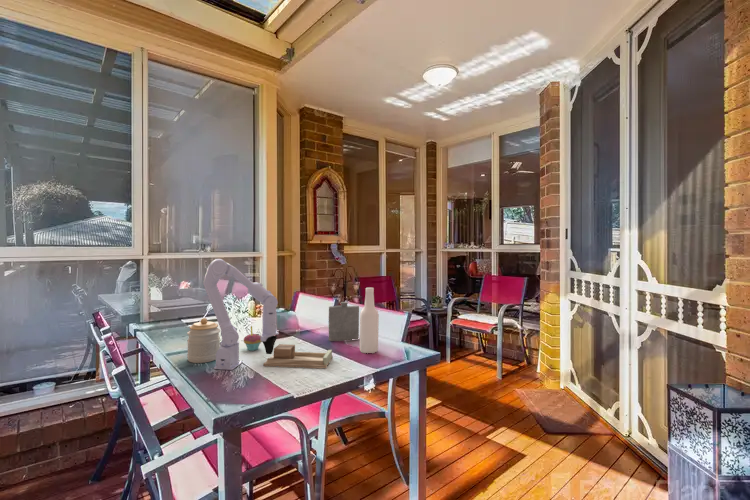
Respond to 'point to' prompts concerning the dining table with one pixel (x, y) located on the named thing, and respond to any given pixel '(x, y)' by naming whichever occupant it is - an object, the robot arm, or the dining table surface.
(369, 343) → the alcohol
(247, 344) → the cupcake
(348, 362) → the dining table surface
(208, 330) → the jar
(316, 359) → the bay
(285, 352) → the block
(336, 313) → the hip flask
